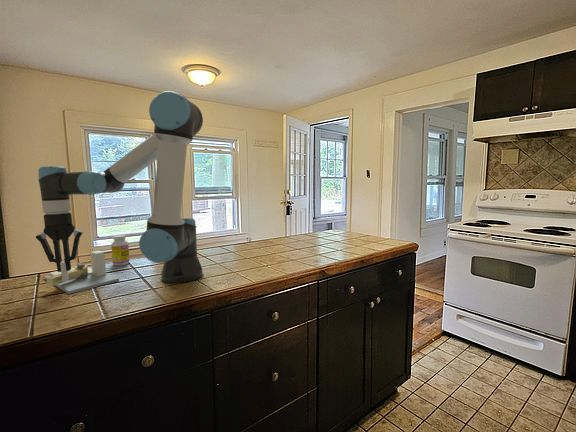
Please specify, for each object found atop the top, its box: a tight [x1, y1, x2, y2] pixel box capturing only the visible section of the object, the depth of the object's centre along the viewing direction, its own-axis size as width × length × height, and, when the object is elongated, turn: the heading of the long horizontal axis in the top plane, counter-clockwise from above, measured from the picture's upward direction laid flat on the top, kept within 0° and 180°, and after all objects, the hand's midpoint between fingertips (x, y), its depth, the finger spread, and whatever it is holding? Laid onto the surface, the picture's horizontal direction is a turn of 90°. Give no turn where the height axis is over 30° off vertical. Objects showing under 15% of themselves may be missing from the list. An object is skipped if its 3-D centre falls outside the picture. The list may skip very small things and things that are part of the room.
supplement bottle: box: [111, 234, 130, 267], centre depth 134 cm, size 7×7×13 cm
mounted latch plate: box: [43, 250, 120, 295], centre depth 113 cm, size 26×16×10 cm, turn 53°
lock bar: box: [45, 265, 89, 287], centre depth 108 cm, size 14×4×3 cm, turn 167°
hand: (65, 280), depth 104 cm, fingers closed
